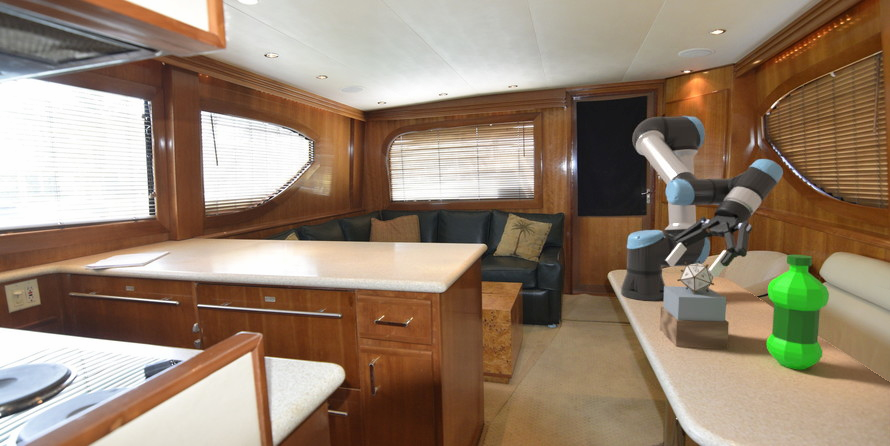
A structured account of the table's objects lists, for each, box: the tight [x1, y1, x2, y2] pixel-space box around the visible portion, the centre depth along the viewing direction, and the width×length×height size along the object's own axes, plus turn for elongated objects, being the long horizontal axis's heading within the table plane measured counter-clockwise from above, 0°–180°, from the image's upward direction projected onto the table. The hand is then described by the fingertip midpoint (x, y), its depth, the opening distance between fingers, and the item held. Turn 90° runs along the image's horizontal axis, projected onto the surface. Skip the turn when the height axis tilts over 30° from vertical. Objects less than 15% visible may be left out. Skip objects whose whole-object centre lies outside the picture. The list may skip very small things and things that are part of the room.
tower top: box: [662, 285, 727, 322], centre depth 114 cm, size 11×11×6 cm
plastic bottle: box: [766, 254, 830, 370], centre depth 97 cm, size 10×10×25 cm
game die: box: [676, 261, 715, 294], centre depth 113 cm, size 9×8×10 cm
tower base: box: [659, 306, 730, 349], centre depth 114 cm, size 12×12×7 cm
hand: (689, 268), depth 112 cm, fingers open, 13 cm apart
